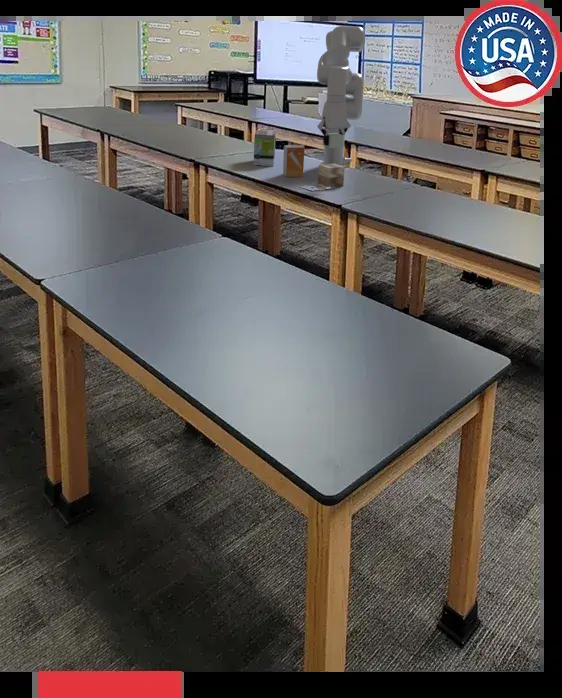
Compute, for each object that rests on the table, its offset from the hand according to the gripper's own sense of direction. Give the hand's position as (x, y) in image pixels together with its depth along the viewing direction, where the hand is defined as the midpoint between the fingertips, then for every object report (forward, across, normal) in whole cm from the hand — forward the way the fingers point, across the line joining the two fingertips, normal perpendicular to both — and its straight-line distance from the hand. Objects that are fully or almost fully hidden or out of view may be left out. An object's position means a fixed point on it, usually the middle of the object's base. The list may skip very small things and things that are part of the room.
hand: (333, 144), depth 285 cm
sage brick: (+1, 0, 0) cm, 1 cm away
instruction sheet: (+17, +9, +4) cm, 20 cm away
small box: (+17, +7, -22) cm, 29 cm away
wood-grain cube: (+17, 0, 0) cm, 17 cm away
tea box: (+17, +7, -53) cm, 56 cm away
